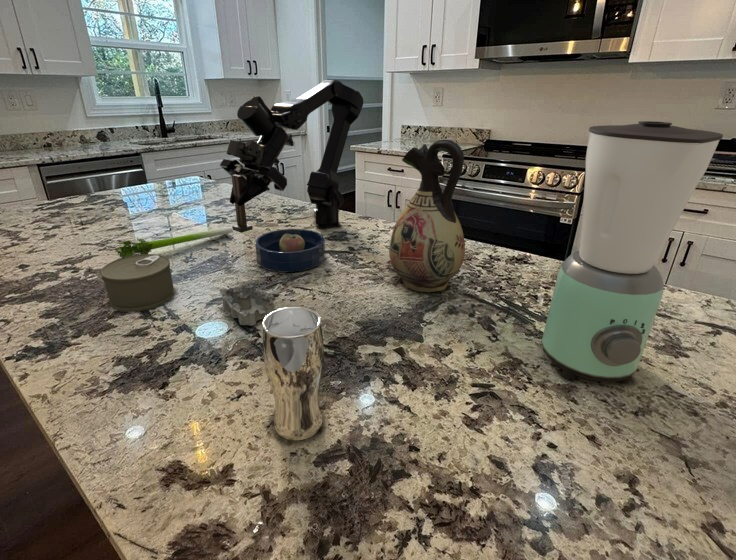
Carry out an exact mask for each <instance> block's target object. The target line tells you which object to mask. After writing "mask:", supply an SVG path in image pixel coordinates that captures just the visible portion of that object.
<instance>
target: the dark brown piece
mask: <svg viewBox="0 0 736 560" xmlns="http://www.w3.org/2000/svg"><path fill="white" fill-rule="evenodd" d="M230 177H231V184H232V187H233V193H234V201H235V203H234V208H235V215H236V217H235V218H236V224H234V225H232V226H231V229H232V230H233V231H235V232H238V233H241V234H242V233H246V232H248V231H252V230H254V229H253V225H252V224H249V223H248V222H247V213H246V203H245V204H243V205H242V206H238V205H237V201H238V198H239V196H240V194H241V192H242V190H243V185H242V176H241V175H236V174H234V175H230Z"/></svg>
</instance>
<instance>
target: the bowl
mask: <svg viewBox="0 0 736 560" xmlns="http://www.w3.org/2000/svg"><path fill="white" fill-rule="evenodd" d="M284 234H290V235H294V234H297V235H299V236H301V237H302V239H303V240H304V242H305V246H304V250H302V251H295V252H281V250H280V245H279V243H280V239H281V238H282V236H283V235H284ZM254 240H255V241H254V247H255V255H256V256H255V257H256V263H257V264H258V265H259V266H260V267H261V268H262V269H263V268H264V269H266V270H268V271H273V272H280V273H281V272H285V273H286V272H287V273H293V272H302V271H306V270H309V269H313V268H315V267H318V266H320V265H321V264H322V263H323V262H324V261H325V258H326V238H325V237H324V235H323V234H321V233H320V232H317V231H314V230H310V229H304V228H283V229H276V230H272V231H268V232H266V233H263V234H261V235H259V236H258V237H256V239H254Z"/></svg>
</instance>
